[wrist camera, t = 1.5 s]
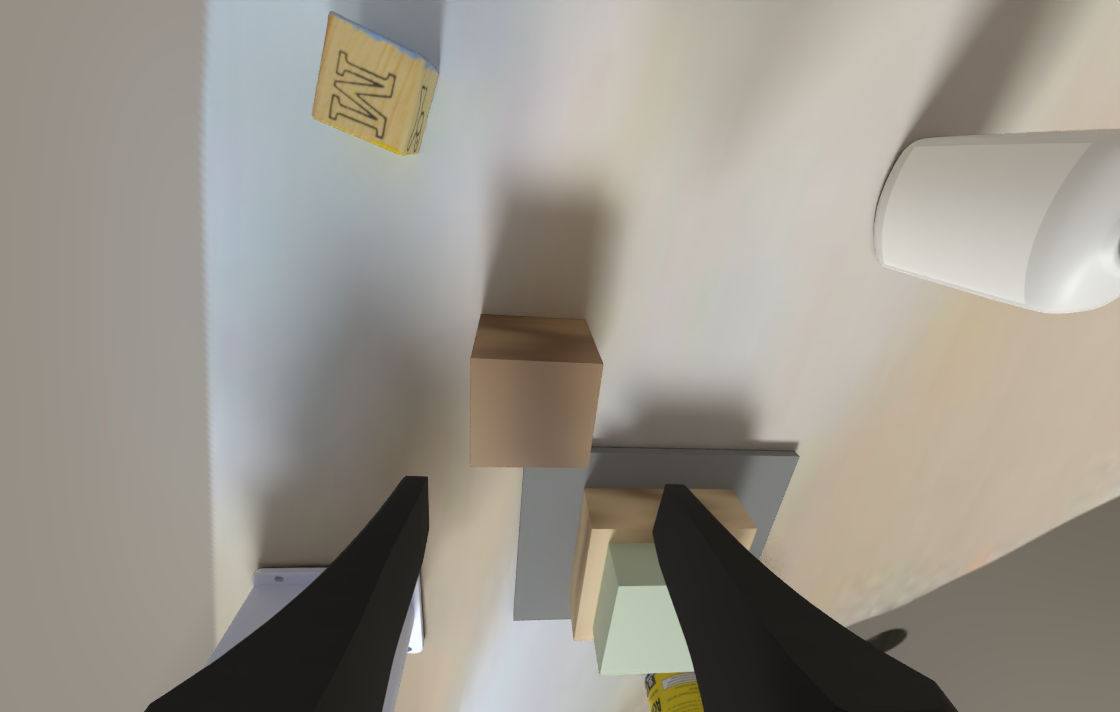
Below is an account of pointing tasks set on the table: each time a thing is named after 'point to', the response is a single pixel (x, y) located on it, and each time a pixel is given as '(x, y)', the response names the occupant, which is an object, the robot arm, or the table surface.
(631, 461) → the mat
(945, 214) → the eye dropper bottle
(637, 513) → the tower base
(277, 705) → the robot arm
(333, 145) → the table surface
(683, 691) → the supplement bottle
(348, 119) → the alphabet block
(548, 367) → the walnut cube
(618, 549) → the tower top
